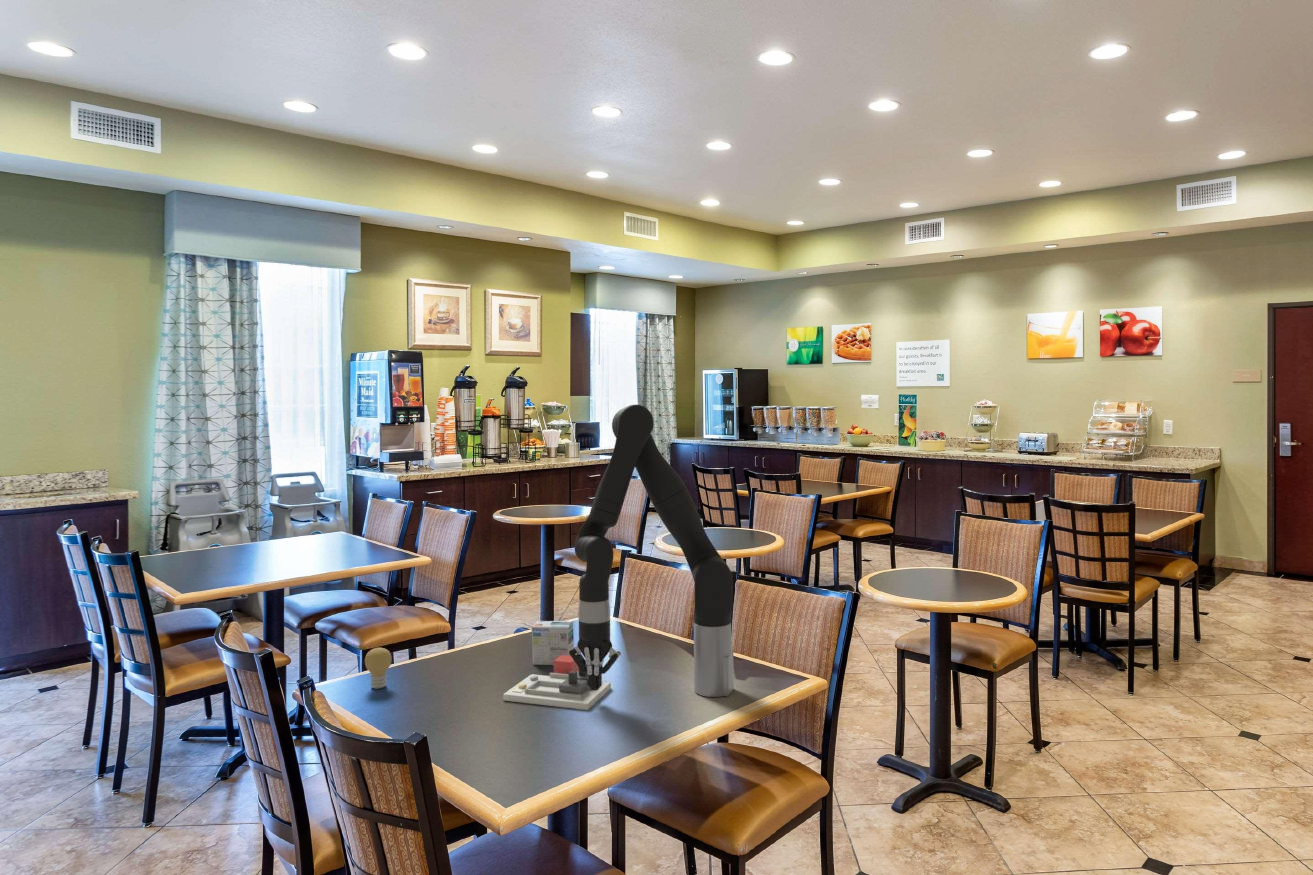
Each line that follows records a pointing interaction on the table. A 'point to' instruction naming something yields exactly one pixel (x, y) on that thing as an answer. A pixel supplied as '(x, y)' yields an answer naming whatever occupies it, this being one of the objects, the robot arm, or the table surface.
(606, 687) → the panel
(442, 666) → the table surface
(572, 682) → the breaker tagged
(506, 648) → the table surface
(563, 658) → the cap
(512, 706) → the table surface
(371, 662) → the light bulb
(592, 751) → the table surface
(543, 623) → the light bulb box
